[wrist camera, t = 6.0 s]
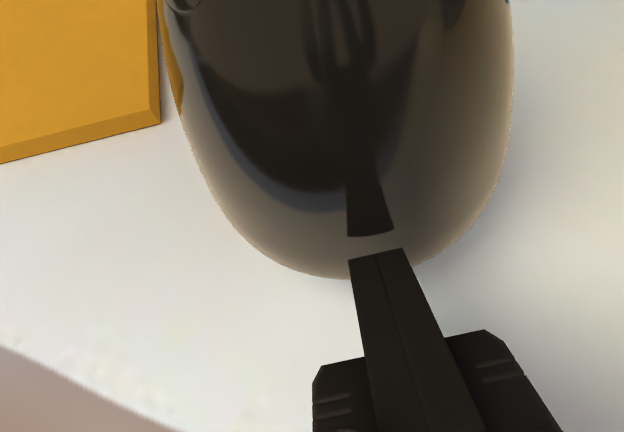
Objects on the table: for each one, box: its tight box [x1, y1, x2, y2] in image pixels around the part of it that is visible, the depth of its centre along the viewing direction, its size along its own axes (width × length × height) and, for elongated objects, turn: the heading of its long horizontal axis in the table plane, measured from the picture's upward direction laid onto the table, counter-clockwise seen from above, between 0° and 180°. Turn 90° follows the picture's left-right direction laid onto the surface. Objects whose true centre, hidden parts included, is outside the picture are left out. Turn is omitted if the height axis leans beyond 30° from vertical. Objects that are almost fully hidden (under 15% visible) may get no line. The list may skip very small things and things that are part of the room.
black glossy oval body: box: [157, 0, 514, 279], centre depth 14 cm, size 10×10×15 cm
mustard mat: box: [0, 0, 161, 164], centre depth 27 cm, size 14×10×1 cm
